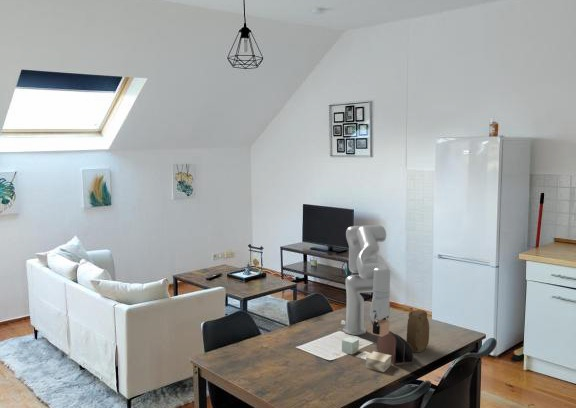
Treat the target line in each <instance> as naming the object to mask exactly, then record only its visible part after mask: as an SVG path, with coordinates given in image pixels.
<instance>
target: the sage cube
mask: <svg viewBox="0 0 576 408" xmlns="http://www.w3.org/2000/svg"><path fill="white" fill-rule="evenodd" d="M359 341H360V340H359V339H358V338H355V337H351V336H347V337H345V338H343V339H342V340H341V352H342V353H345V354H349V355H354V354H356V353H358V352H359V351H360V350H359V348H360V346H359V345H360V344H359V343H360V342H359Z"/></svg>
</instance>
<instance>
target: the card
mask: <svg viewBox="0 0 576 408" xmlns="http://www.w3.org/2000/svg"><path fill="white" fill-rule="evenodd" d="M371 353H372V352H368V351H366V350H365V351H362V352H360V353H359V354H357V355H355V358H358V359H361V360H365V361H366V357H367V356H369V355H370V354H371Z"/></svg>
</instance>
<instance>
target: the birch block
mask: <svg viewBox="0 0 576 408" xmlns="http://www.w3.org/2000/svg"><path fill="white" fill-rule="evenodd" d="M370 353H371V354H370V355H369V356H367V357H366V360H365V368H366V369H370V370H375V371H379V372H382V373H384V372H386V371H387V370H388V369H389V368H391V366H392V363H391V357H392V355H388V354H383V353H380V352H379V351H374V350H373V351H372V352H370Z"/></svg>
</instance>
